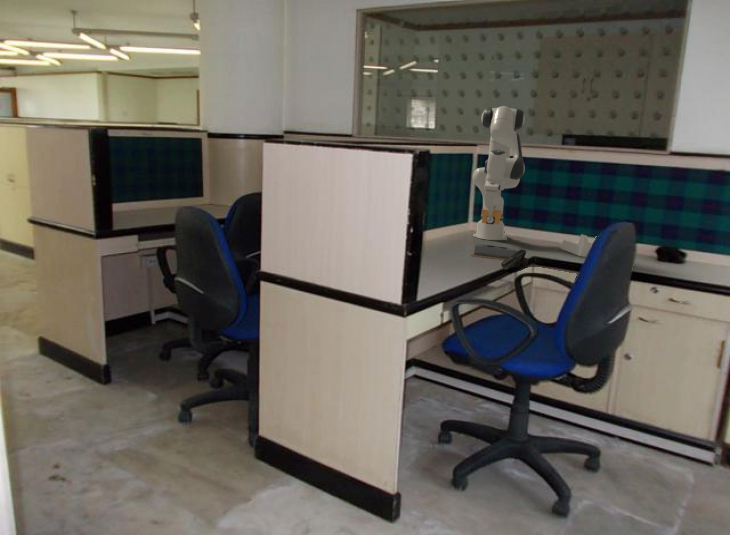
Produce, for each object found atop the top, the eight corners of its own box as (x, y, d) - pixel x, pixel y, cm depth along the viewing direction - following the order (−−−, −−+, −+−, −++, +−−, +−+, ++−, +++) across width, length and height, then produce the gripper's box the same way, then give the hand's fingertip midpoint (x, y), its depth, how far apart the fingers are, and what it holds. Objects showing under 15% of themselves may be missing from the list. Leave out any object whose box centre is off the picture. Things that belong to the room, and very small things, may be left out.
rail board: (475, 251, 302) (476, 242, 301) (521, 257, 295) (522, 247, 294) (470, 255, 291) (471, 246, 290) (517, 261, 284) (518, 252, 283)
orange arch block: (481, 222, 294) (483, 208, 293) (500, 224, 291) (502, 210, 290) (480, 222, 292) (481, 209, 290) (499, 224, 289) (500, 211, 287)
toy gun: (504, 282, 269) (500, 263, 264) (525, 262, 277) (521, 244, 271) (508, 283, 268) (504, 264, 263) (529, 263, 275) (525, 245, 270)
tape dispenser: (597, 258, 307) (602, 237, 305) (580, 256, 304) (585, 235, 302) (577, 250, 324) (581, 231, 322) (561, 248, 321) (565, 229, 319)
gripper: (492, 183, 298) (489, 212, 301) (483, 186, 280) (480, 216, 283) (505, 184, 296) (502, 213, 299) (497, 187, 277) (494, 217, 280)
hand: (491, 214), depth 291 cm, fingers closed on orange arch block, 3 cm apart
